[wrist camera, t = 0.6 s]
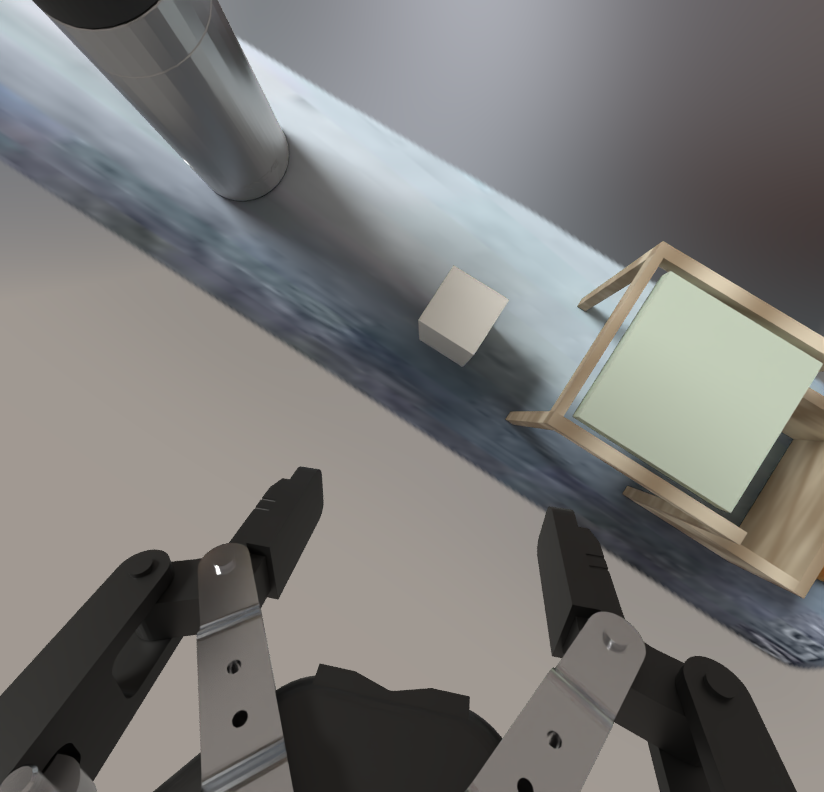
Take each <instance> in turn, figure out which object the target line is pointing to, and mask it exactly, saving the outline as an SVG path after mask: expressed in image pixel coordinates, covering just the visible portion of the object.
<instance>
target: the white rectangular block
mask: <svg viewBox="0 0 824 792" xmlns="http://www.w3.org/2000/svg"><path fill="white" fill-rule="evenodd" d="M508 301H509V299H507V298H506V297H504V296H502V295H501V294H499V293H498V292H496V291H494V290H493V289H491V288H489V287H488V286H486V285H485V284H483V283H481V282H480V281H478V280H477V279H475V278H473V277H472V276H470V275H468V274H467V273H465V272H464V271H462V270H460V269H459V268H457V267H456V266H454V265H453V267H452V268H451V270H450V272H449V273H448V275H447V276H446V278H445V279H444V281H443V282H442V284H441V286H440V287H439V289H438V290H437V292H436V293H435V295H434V296H433V298H432V299H431V301H430V303H429V304H428V306H427V307H426V309H425V310H424V312H423V313H422V315H421V317H420V318H419V320H418V324H419V340H421V341H422V342H424V343H426V344H427V345H429V346H430V347H432V348H433V349H435V350H437V351H438V352H440V353H441V354H443V355H444V356H446V357H448V358H449V359H451V360H452V361H454V362H456V363H457V364H459V365H460V366H462V367H464V365H465V364H466V363H467V362H468V361H469V360H470V359H471V358H472V356H473V355H474V354H475V352H476V351H477V349H478V348H479V346H480V345H481V343H482V341H483V340H484V338H485V337H486V335H487V334H488V332H489V331H490V329H491V327H492V326H493V324H494V323H495V321H496V320H497V318H498V316H499V315H500V313H501V312H502V310H503V309H504V307H505V306H506V304H507V302H508Z"/></svg>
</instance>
